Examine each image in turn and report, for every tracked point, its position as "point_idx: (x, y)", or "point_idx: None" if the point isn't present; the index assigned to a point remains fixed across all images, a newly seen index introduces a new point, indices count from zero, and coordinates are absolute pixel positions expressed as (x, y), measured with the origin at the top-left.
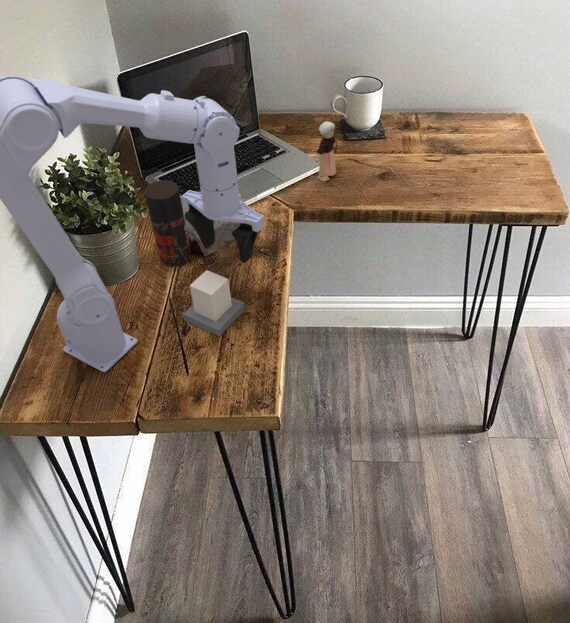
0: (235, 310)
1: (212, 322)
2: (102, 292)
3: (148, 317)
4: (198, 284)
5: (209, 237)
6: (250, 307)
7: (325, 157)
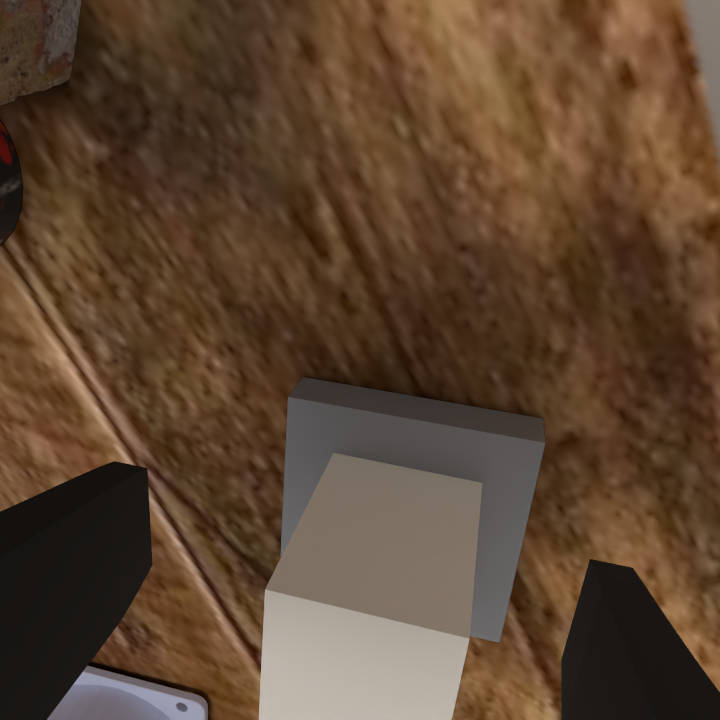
0: (520, 509)
1: None
2: None
3: (148, 580)
4: (302, 712)
5: (89, 584)
6: (565, 395)
7: None
